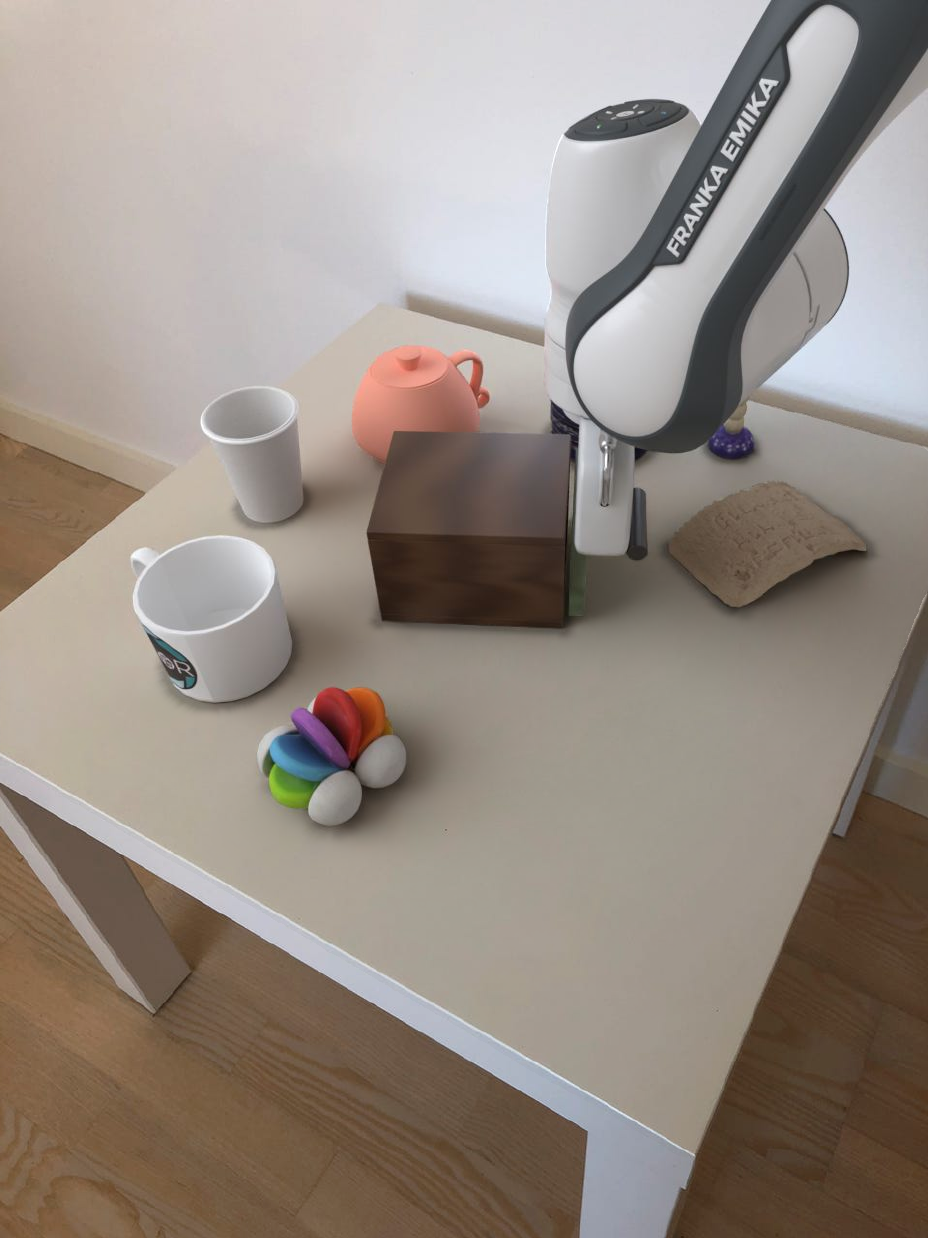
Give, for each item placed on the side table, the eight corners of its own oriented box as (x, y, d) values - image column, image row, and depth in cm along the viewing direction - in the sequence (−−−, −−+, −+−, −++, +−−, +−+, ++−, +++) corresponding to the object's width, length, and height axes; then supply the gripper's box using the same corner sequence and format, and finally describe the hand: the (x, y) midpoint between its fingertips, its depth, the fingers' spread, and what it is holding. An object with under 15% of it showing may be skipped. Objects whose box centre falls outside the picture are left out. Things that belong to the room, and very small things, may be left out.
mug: (324, 638, 75) (305, 565, 70) (232, 729, 70) (204, 657, 64) (204, 578, 81) (178, 505, 75) (110, 657, 75) (74, 585, 70)
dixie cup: (210, 506, 88) (180, 415, 81) (280, 463, 92) (258, 373, 84) (265, 545, 84) (239, 453, 76) (336, 499, 87) (318, 407, 80)
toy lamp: (755, 463, 88) (790, 296, 75) (703, 461, 88) (730, 294, 76) (752, 433, 91) (785, 267, 79) (703, 430, 91) (728, 266, 79)
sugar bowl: (338, 429, 95) (321, 337, 88) (464, 390, 99) (458, 299, 91) (383, 497, 87) (369, 403, 80) (518, 452, 91) (516, 358, 83)
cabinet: (568, 523, 83) (571, 433, 76) (562, 628, 75) (565, 538, 68) (405, 519, 85) (393, 430, 78) (381, 621, 76) (365, 531, 69)
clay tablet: (789, 486, 85) (795, 462, 83) (874, 550, 79) (883, 526, 77) (659, 545, 81) (662, 522, 79) (738, 618, 74) (744, 594, 72)
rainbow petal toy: (427, 765, 67) (418, 701, 61) (319, 854, 62) (299, 794, 57) (351, 700, 71) (336, 635, 66) (245, 779, 67) (220, 717, 61)
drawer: (640, 522, 82) (648, 448, 76) (643, 618, 74) (651, 544, 68) (433, 516, 84) (425, 444, 78) (414, 609, 76) (404, 536, 70)
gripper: (661, 457, 57) (642, 615, 67) (652, 290, 71) (638, 442, 81) (555, 455, 58) (552, 611, 68) (567, 290, 71) (563, 440, 81)
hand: (599, 518), depth 74 cm, fingers closed
